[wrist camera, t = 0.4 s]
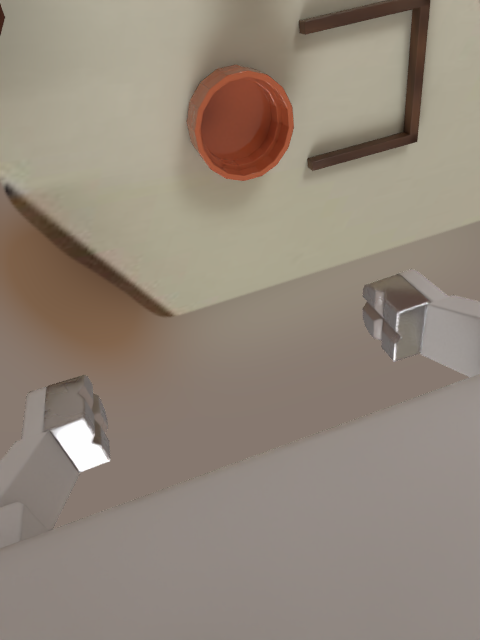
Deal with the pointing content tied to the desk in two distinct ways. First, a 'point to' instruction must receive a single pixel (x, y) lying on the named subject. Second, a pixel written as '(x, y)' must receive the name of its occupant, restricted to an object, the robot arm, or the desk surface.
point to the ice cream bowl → (1, 19)
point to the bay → (394, 4)
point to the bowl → (240, 122)
